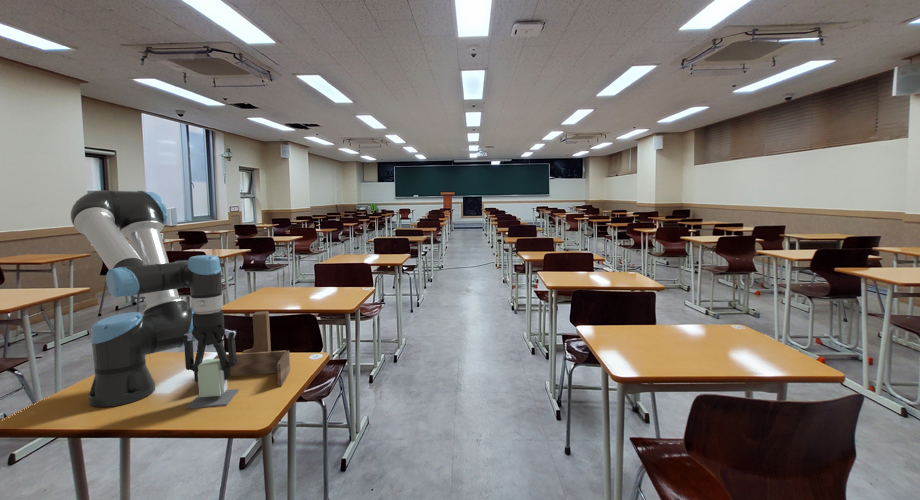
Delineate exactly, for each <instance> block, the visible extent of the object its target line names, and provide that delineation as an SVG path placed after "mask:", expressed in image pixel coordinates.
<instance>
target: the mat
mask: <svg viewBox="0 0 920 500" xmlns="http://www.w3.org/2000/svg"><path fill="white" fill-rule="evenodd" d="M238 392H239V388H235V389H234V388H233V389H227V390H226V391H225V392H224V393H222V394H221V395H220V396H209V397H200V395H199V394H198V395H197V396H196V397H195V398H194V399H193V400H192V401H191V402H190V403H189V405H187V406H186V410H189V409H201V408H202V409H203V408H213V407H214V408H215V407H224V406H225V407H226V406H228V405H229V403H230V402H231V401H232V400H233V398H234V397H235V396H236V394H237V393H238Z"/></svg>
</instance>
